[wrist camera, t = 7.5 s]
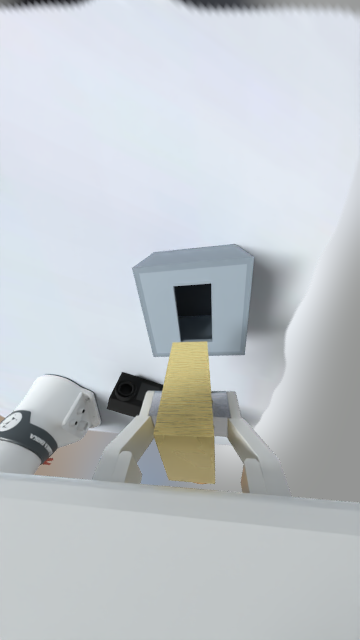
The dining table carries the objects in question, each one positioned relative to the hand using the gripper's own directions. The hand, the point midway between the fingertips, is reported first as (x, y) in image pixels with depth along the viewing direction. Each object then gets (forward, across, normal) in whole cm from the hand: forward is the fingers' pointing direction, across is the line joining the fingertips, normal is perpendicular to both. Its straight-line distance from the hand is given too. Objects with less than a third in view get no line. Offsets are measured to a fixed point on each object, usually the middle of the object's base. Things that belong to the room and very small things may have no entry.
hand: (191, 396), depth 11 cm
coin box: (+20, 0, 0) cm, 20 cm away
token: (+3, 0, 0) cm, 3 cm away
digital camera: (+21, -14, -23) cm, 34 cm away
